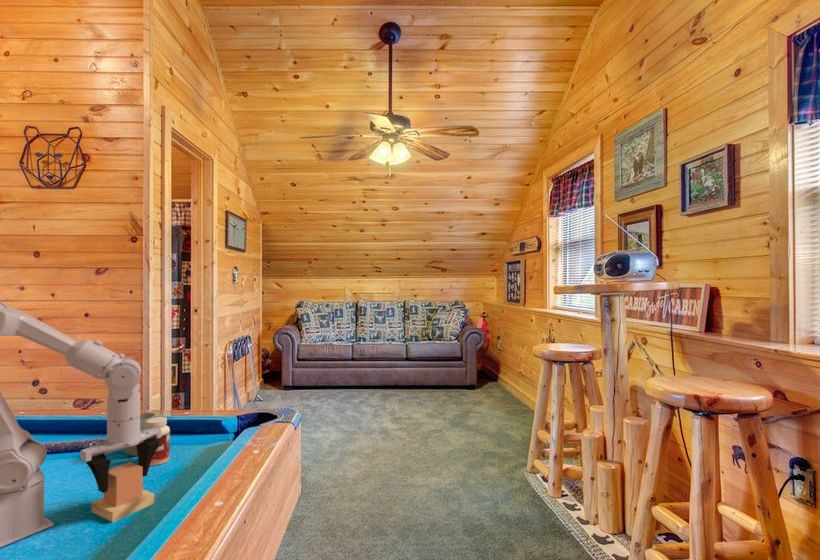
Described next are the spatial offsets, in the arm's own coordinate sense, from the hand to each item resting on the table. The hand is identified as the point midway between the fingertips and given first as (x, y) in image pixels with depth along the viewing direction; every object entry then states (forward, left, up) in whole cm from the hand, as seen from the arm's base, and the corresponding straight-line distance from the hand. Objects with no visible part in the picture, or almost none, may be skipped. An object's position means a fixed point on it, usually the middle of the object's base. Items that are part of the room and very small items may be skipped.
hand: (123, 482), depth 85 cm
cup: (+17, +26, -5) cm, 32 cm away
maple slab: (0, 0, -6) cm, 6 cm away
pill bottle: (+16, +16, -5) cm, 24 cm away
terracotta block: (0, 0, -3) cm, 3 cm away
